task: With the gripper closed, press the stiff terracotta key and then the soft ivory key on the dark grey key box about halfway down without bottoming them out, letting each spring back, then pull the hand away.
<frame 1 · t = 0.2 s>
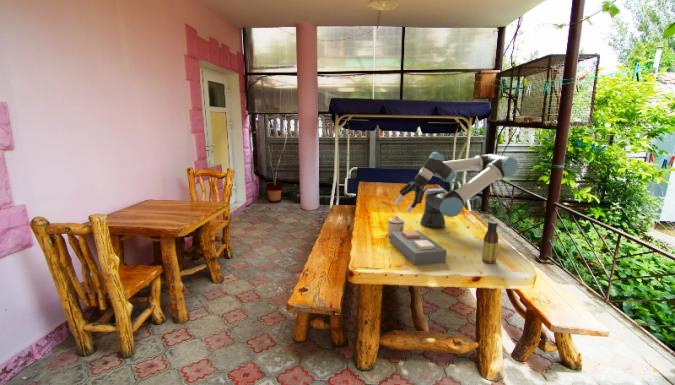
hand: (401, 208, 181), 16 cm above the table, tool tilted 35°, fingers open, 13 cm apart
sauce bottle: (488, 261, 152), on the table
key box: (415, 251, 161), on the table
teacup with lid: (395, 234, 185), on the table
ivory key: (423, 247, 154), point 5 cm above the table, slide at 0.0 cm
terracotta key: (410, 236, 167), point 5 cm above the table, slide at 0.0 cm
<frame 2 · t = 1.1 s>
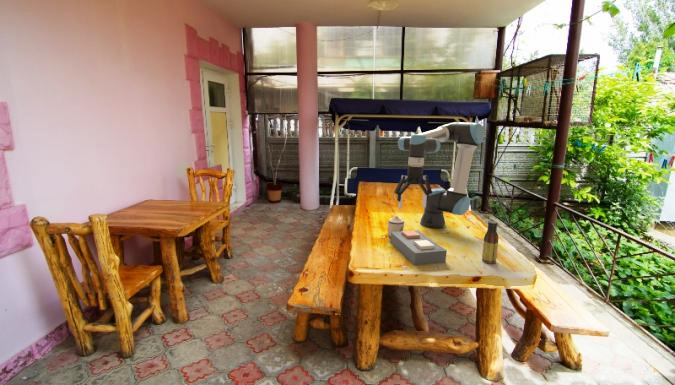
hand: (412, 207, 164), 21 cm above the table, tool pointing down, fingers open, 12 cm apart
nothing on the table moved.
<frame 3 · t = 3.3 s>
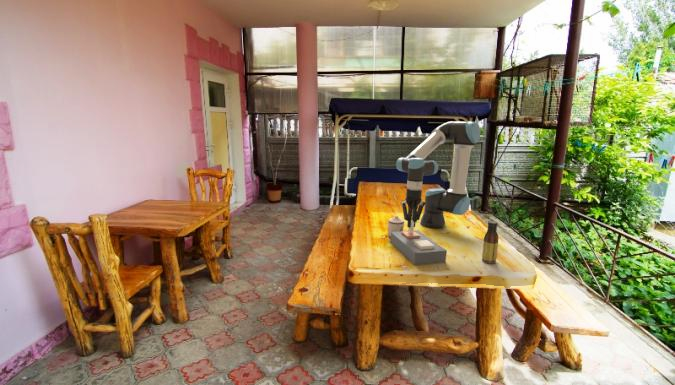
hand: (410, 233, 166), 7 cm above the table, tool pointing down, fingers closed
terracotta key: (410, 237, 167), point 5 cm above the table, slide at 0.3 cm, touching gripper
everything else where it was.
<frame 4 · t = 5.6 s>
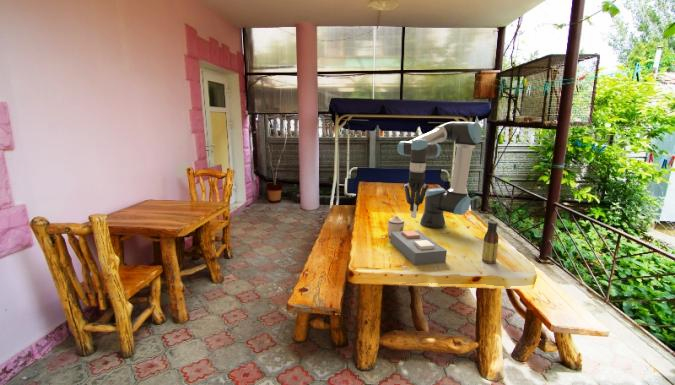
hand: (413, 217, 162), 17 cm above the table, tool pointing down, fingers closed
terracotta key: (410, 236, 167), point 5 cm above the table, slide at 0.0 cm
everything else where it was.
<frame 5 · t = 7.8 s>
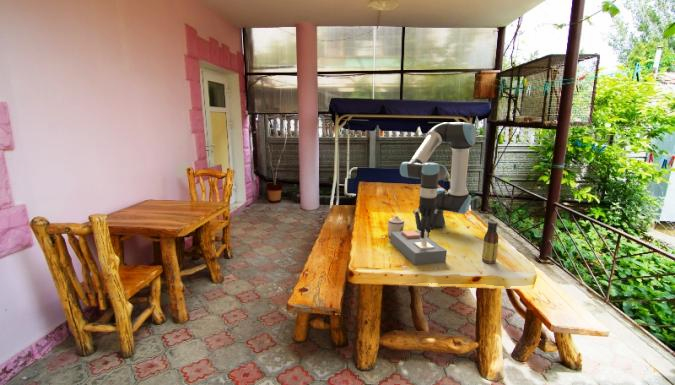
hand: (423, 244, 153), 7 cm above the table, tool pointing down, fingers closed
ivory key: (423, 248, 154), point 5 cm above the table, slide at 0.8 cm, touching gripper
everything else where it was.
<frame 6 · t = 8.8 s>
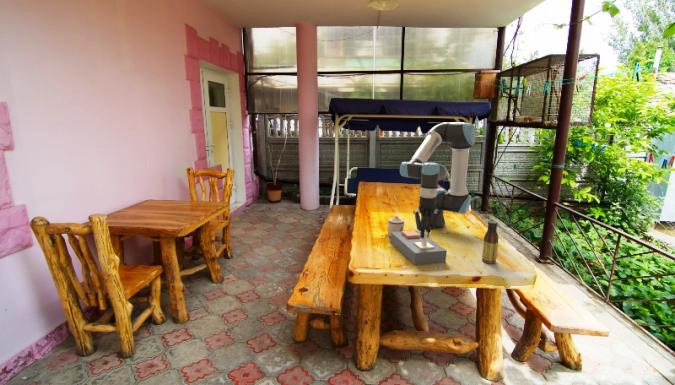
hand: (423, 244, 153), 7 cm above the table, tool pointing down, fingers closed
nothing on the table moved.
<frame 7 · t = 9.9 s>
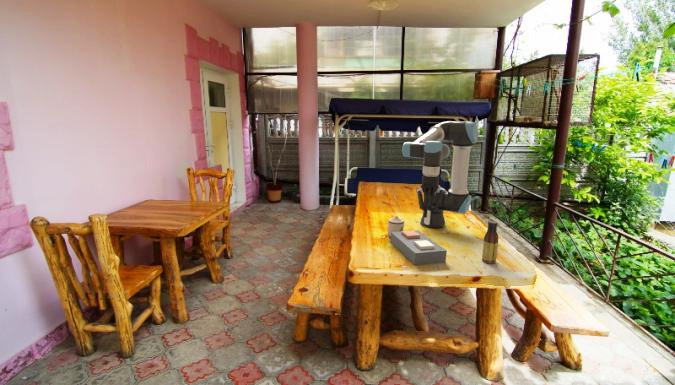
hand: (426, 223, 153), 17 cm above the table, tool pointing down, fingers closed
ivory key: (423, 247, 154), point 5 cm above the table, slide at 0.1 cm
everything else where it was.
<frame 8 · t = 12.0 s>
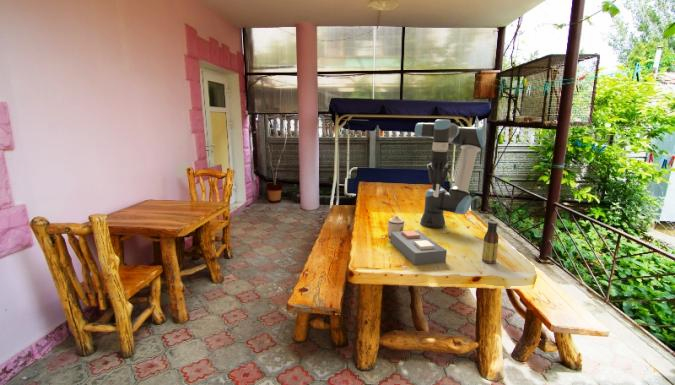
hand: (435, 196, 166), 26 cm above the table, tool pointing down, fingers closed
nothing on the table moved.
at the end: terracotta key slide at 0.0 cm; ivory key slide at 0.1 cm; teacup with lid moved 0.2 cm from its start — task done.
